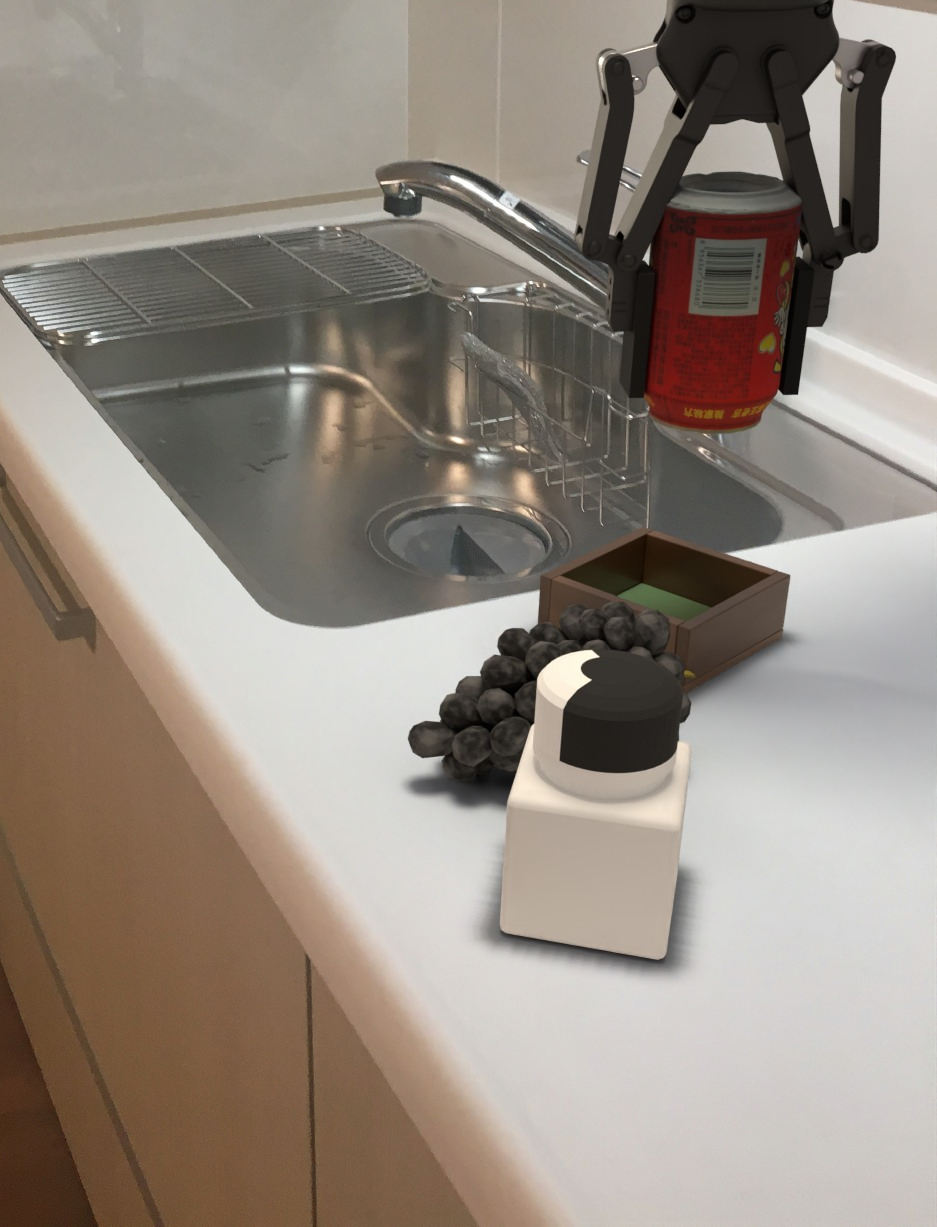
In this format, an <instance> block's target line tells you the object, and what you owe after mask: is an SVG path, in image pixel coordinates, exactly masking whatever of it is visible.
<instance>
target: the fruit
mask: <svg viewBox="0 0 937 1227" xmlns="http://www.w3.org/2000/svg"><path fill="white" fill-rule="evenodd" d="M559 625H560V627H561V629H562V630H561V629H560V628H559V627H558V626H556V625H554V624H552V623H550V622H545V623H538V622H537V624H536V625H534V626H533V627H532V628H531V629H530V630H529V632H528V631H527V630H526V629H525V628H523V627H511V628H507V629H504V631H503V632H502V633H501V634H500V635H499V636H498V638H497V643H496V644H497V645H496V648H497V650H498V652H499V654H493V655H491V656H490V657H489V658H487V659H485V660H484V661H483V663H482V665H481V666H482V667H481V668H480V670H479V673H480V675H466V676H465V677H463V678H462V679H460V680H459V681H458V683H457V685H456V687H455V689H454V690H455V691H454V692H453V693H449V694H448V693H447V694H446V695H445V697H444V699H443V700H442V701H441V702H440V705H439V710H438V716H439V718H440V720H439V721H434V720H422V721H421V722H419V723H417V724H414V725H413V726H412V727H411V729H410V730H409V731H408V736H407V741H408V744H409V747H410V749H411V752H412V753H413V754H414V755H416V756H418V757H419V758H421V759H430V758H439V757H442V759H441V765H442V769H443V771H444V773H445V774H446V776H447V778H449V779H450V780H452V781H454V782H459V783H464V784H466V783H468V782H470V781H471V780H473V779H474V778H475V777H476V776H477V775H480V776H481V775H482V776H485V775H486V774H488V773H490V772H491V771H492V770H493V769H494V767H495V768H496V769H498V770H502V771H506V772H514V773H515V774H516V773H517V769H518V766H519V763H520V760H521V757H522V754H523V750H524V747H525V744H526V741H527V738H528V734H529V731H530V728H531V726H532V725H533V724H534V721H535V706H536V691H537V678H538V676H539V674H540V672H541V671H542V670H543V669H544V668H545V667H546V666H547V665H548V664H549V663H551V662H552V661H553V660H555V659H556V658H558V657H561V656H563V655H566V654H569V653H573V652H578V651H585V650H617V651H624V652H629V653H633V654H637V655H641V656H644V657H647V658H649V659H652V660H654V661H656V662H658V663H660V664H662V665H663V666H665V667H666V668H668V669H669V670H670V671H671V672H672V673H673V674H674V676H675V677H676V678H677V679H678V681H679V682H681V681H683V678H684V677H692V678H696V677H695V675H694V674H693V673H691V672H690V671H685V665H684V662H683V661H682V660H681V659H680V658H679V656H677V655H675V654H674V653H670V652H663V651H664V650H665V649H666V647H667V644H668V641H669V638H670V622H669V618H667V617H666V616H665V615H663V614H662V613H661V612H660V611H658V610H648V609H646V610H645V611H643V612H642V613H640V614H639V615H637V617H636V618H635V615H634V612H633V609H632V608H631V607H629V606H628V605H627V604H626V603H625V602H619V601H614V602H610V603H608V604H605V605H603V607H602V608H601V610H599V609H598V608H597V609H590V608H588V607H587V606H585V605H583V604H576V605H570V606H569V607H567V608H566V609H564V610H563V611H562V613H561V615H560V618H559ZM692 704H693V702H692V701H691V699H690V697H689V695H688V693H685V692H683V701H682V710H681V719H680V724H683V723H685V722H686V721H687V719H688V718H689V716H690V715H691V709H692ZM678 741H679V742H680V736H679V737H678Z"/></svg>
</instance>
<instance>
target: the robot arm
mask: <svg viewBox="0 0 937 1227" xmlns="http://www.w3.org/2000/svg"><path fill="white" fill-rule="evenodd" d="M834 4H835V0H666V7H665V8H666V9H665V14H664V18H663V21H662V23H661V25H660V27H659V29H658V30H657V32H656V33H655V34H654V37H653V39H652V42H649V43H645V44H641V45H638V46H634V47H630V48H626V49H622V50H617V49H614V48H612V47H608V48H604V49H602V50H601V51H600V52H599V53H598V54H597V56H596V58H595V68H596V74H597V75H596V76H597V81H598V88H599V94H600V102H599V107H598V112H597V117H596V121H595V127H594V132H593V137H592V141H591V147H590V152H589V157H588V163H587V167H586V173H585V178H584V183H583V188H582V193H581V197H580V198H581V199H580V203H579V208H578V213H577V219H576V224H575V229H574V233H573V234H574V235H573V242H574V244H575V245H576V248H578V250H579V251H580V253H581V255H582V256H583V257H584V258H585V259H586V260H588V261H597V262H599V263H602V264H605V265H607V267H608V272H607V273H608V275H607V286H606V298H605V313H604V315H605V318H606V322H607V324H608V326H609V327H610V329H611V331H612V332H613V333H617V332H618V333H619V332H620V333H621V332H622V333H623V334H622V345H621V356H620V369H619V379H618V381H619V384H620V386H621V387H622V389H623V391H624V392H625V394H626V395H627V397H628V399H644V398H645V397H644V391H645V380H646V370H647V359H648V348H649V337H650V326H651V316H652V305H653V294H654V283H655V273H654V272H653V270H652V269H651V268H650V267H649V263H647V262H646V260H644V257H645V256H646V254H647V252H648V249H649V248H650V243H651V241H652V239H653V237H654V235H655V233H656V231H657V229H658V226H659V224H660V222H661V220H662V218H663V216H664V214H665V209H666V205H667V204H668V203H670V200H671V199H672V197H673V195H674V193H675V191H676V188H677V186H678V184H679V182H680V180H681V178H682V176H684V174H685V173H686V172H685V171H686V170H687V167H688V165H689V164H690V161H691V159H692V157H693V155H694V153H695V150H696V149H697V147H698V146H699V145H700V144H701V143H702V142H703V140H704V138H705V136H706V134H707V132H708V130H709V128H710V126H712V125H713V126H714V125H715V126H717V125H728V124H731V123H734V122H737V121H741V120H744V121H748V122H751V123H756V124H765V125H766V127H767V128H766V129H768V132H769V133H770V136H771V138H772V144H773V147H774V151H775V155H776V158H777V162H778V163H777V164H778V166H779V171H780V173H781V178H782V180H783V181H784V182H785V183H787V184H788V185H789V186H790V187H791V188H792V189H793V190H794V191H795V192H796V194H797V195H798V196H799V197H800V198H801V200H802V215H801V222H800V231H799V240H798V243H799V246H800V250H801V251H802V257H801V256H796V261H795V268H794V278H793V284H792V292H791V300H790V308H789V316H788V323H787V330H786V338H785V346H784V354H783V361H782V369H781V377H780V385H779V389H778V392H780V393H781V394H782V395H783V396H799V392H800V384H801V376H802V368H803V361H804V353H805V347H806V346H805V345H806V341H807V340H806V338H807V332H808V328H823V327H824V325H825V322H826V321H827V319H828V316H829V308H830V304H831V303H830V302H831V294H832V288H833V281H834V274H835V273H834V272H835V271H836V270H839V269H840V268H841V266H842V265H843V264H844V261H845V258H847V257H850V256H853V255H856V254H859V253H860V254H868V253H869V254H870V253H871V252H872V251H874V250H876V248H877V246H878V244H879V240H880V207H881V206H880V202H881V200H880V198H881V158H882V156H881V154H882V115H883V114H882V113H883V112H882V111H883V96H884V93H885V91H886V89H887V85H888V83H889V80H890V78H891V76H892V72H893V69H894V66H895V65H896V60H897V55H896V54H897V53H896V51H895V50H894V49H893V48H892V47H890V46H888V45H886V44H883V43H881V42H880V41H879V42H878V41H876V40H874V39H870V38H868V39H864V40H861V41H859V40H854V39H850V38H845V37H840V33H839V31H838V29H837V26H836V24H835V21H834V14H833V12H834V11H833V10H834ZM831 62H833V64H834V66H835V70H834V78H835V80H836V82H837V83H838V84H839V85H842V86H841V91H840V100H839V103H840V104H839V160H838V161H839V162H838V164H839V165H838V166H839V172H838V176H839V177H838V180H839V181H838V183H839V184H838V225H837V226H834V225H833V224H834V223H833V221H832V217H831V212H830V209H829V205H828V202H827V197H826V194H825V189H824V186H823V182H822V178H821V173H820V170H819V166H818V161H817V158H816V154H815V151H814V150H815V149H814V147H813V142H812V138H811V125H810V120H809V116H808V113H807V109H806V105H805V101H804V97H803V96H804V94H805V93H806V92H807V91H808V89H810V88H811V86H812V85H813V84H814V83H815V81H816V80H817V79H818V78H819V76H820V75H821V74H822V73H823V71H824V70H825V69H826V68H827V67H828V66H829V64H830V63H831ZM657 67H658V68H659V70H660V71H661V73H662V74H663V76H664V78H665V79H666V81H667V82H668V84H669V85H670V88H672V90H673V91H674V94H675V96H674V98H673V101H672V102H671V105H670V107H669V109H668V111H667V114H666V115H665V118H664V121H663V127H662V130H661V133H660V135H659V137H658V139H657V141H656V143H655V145H654V148H653V150H652V152H651V154H650V156H649V159H648V160H647V162H646V165H645V167H644V169H643V171H642V173H641V176H640V178H639V180H638V182H637V184H636V187H635V189H634V191H633V193H632V195H631V198H630V199H629V201H628V204H627V206H626V208H625V211H624V213H623V214H622V217H621V219H620V221H619V223H618V225H617V228H616V230H615V232H614V234H611V233H610V232H611V227H612V222H613V217H614V213H615V208H616V203H617V198H618V195H619V194H618V193H619V189H620V184H621V179H622V174H623V169H624V164H625V158H626V155H627V150H628V145H629V139H630V135H631V130H632V125H633V120H634V113H635V96H636V95H640V94H641V93H643V91H644V90H645V89H646V87H647V84H648V77H649V74H650V73H651V71H652V70H653V69H655V68H657Z"/></svg>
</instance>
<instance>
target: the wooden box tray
mask: <svg viewBox="0 0 937 1227" xmlns="http://www.w3.org/2000/svg"><path fill="white" fill-rule="evenodd" d="M790 584H791V574H789V573H787V572H783V571H780V570H777V569H774V568H772V567H768V566H764V565H762V564H759V563H756V562H752V561H749V560H747V559H743V558H740V557H738V556H734V555H731V554H728V553H725V552H723V551H719V550H715V549H712V548H710V547H706V546H703V545H700V544H697V543H694V542H691V541H688V540H684V539H682V538H680V537H676V536H673V535H670V534H666V533H663V532H661V531H657V530H654V529H652V528H649V527H645V526H642V527H640V528H637V529H635V530H634V531H633V530H632V531H631V532H629V533H627V534H625V535H623V536H620V537H619V538H616V539H615V540H612V541H610V542H608V543H606V544H604V545H601V546H599V547H598V548H595V549H593V550H592V551H591V550H590V551H588V552H587V553H585V554H583V555H581V556H578V557H577V558H574V559H573V560H571V561H570V560H569V561H567V562H566V563H564V564H562V565H560V566H557V567H555V568H554V569H551V570H549V571H547V572H545V573H542V574H541V575H540V581H539V597H538V611H537V624H538V623H545V622H550V623H552V624H554V625H556V626H558V627H559V628H560V629H561V627H560V625H559V618H560V615H561V613H562V611H563V610H564V609H566V608H567V607H569V606H570V605H576V604H583V605H585V606H587V607H588V608H590V609H597V608H598V609H599V610H601V608H602V607H603V605H605V604H608V603H610V602H614V601H619V602H625V603H626V604H627V605H628V606H629V607H631V608H632V609H633V612H634V615H635V618H636V617H637V615H639V614H640V613H642V612H643V611H645V610H646V609H648V610H658V611H660V612H661V613H662V614H663V615H665V616H666V617H667V618H669V622H670V638H669V641H668V644H667V647H666V649H665V650H664V651H663V652H670V653H674V654H675V655H677V656H679V658H680V659H681V660H682V661H683V662H684V665H685V671H690V672H691V673H693V674H694V675H695V677H696V678H692V677H684V678H683V681H681V682H680V684H681V685H682V688H683V692H685V693H686V694H688V693H689V692H691V691H694V690H695V689H697V688H698V687H701V685H704V684H705V683H707V682H709V681H711V680H712V679H713V678H715V677H717V676H719V675H720V674H722V673H724V672H726V671H727V670H729V669H731V668H732V667H734V666H736V665H738V664H739V663H741V662H743V661H745V660H746V659H748V658H749V657H751V656H753V655H755V654H757V653H758V652H760V651H762V650H764V649H766V648H767V647H768V646H770V645H772V644H774V643H776V642H777V641H779V640H780V639H782V638H783V637H784V636H783V635H784V626H785V618H786V613H787V612H786V611H787V606H788V598H789V597H788V596H789V591H790ZM561 630H562V629H561Z"/></svg>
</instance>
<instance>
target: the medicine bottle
mask: <svg viewBox="0 0 937 1227" xmlns="http://www.w3.org/2000/svg"><path fill="white" fill-rule="evenodd" d="M682 701H683V688H682V685H681V684H680V682H679V681H678V679H677V678H676V677H675V676H674V674H673V673H672V672H671V671H670V670H669V669H668V668H666V667H665V666H663V665H662V664H660V663H658V662H656V661H654V660H652V659H649V658H647V657H644V656H641V655H637V654H633V653H629V652H624V651H617V650H585V651H578V652H573V653H569V654H566V655H563V656H561V657H558V658H556V659H555V660H553V661H552V662H551V663H549V664H548V665H547V666H546V667H545V668H544V669H543V670H542V671H541V672H540V674H539V676H538V678H537V691H536V706H535V721H534V724H533V725H532V726H531V728H530V731H529V734H528V738H527V741H526V744H525V747H524V750H523V754H522V757H521V760H520V763H519V766H518V769H517V773H515V777H514V779H513V783H512V785H511V789H510V792H509V795H508V797H507V798H508V799H507V800H506V801H507V802H506V816H505V834H504V850H503V851H504V852H503V864H502V866H503V867H502V880H501V881H502V883H501V898H500V900H501V901H500V915H499V927H500V930H501V931H502V932H503V933H505V934H509V935H514V936H521V937H525V938H530V939H531V938H532V939H537V940H543V941H548V942H554V943H559V944H560V943H561V944H565V945H571V946H576V947H577V946H578V947H583V948H588V949H594V950H599V951H604V952H606V951H607V952H612V953H617V954H623V955H629V956H633V957H634V956H635V957H639V958H645V959H651V960H658V961H659V960H661V959H664V958H665V956H666V954H667V951H668V944H669V937H670V929H671V922H672V917H673V916H672V915H673V907H674V901H675V894H676V885H677V879H678V872H679V864H680V855H681V847H682V838H683V830H684V821H685V812H686V806H687V805H686V804H687V797H688V796H687V794H688V786H689V779H690V778H689V777H690V768H691V762H692V761H691V760H692V753H693V751H692V748H691V745H690V744H689V743H688V742H685V741H680V740H679V741H678V737H679V738H680V727H681V723H680V719H681V710H682Z"/></svg>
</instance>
